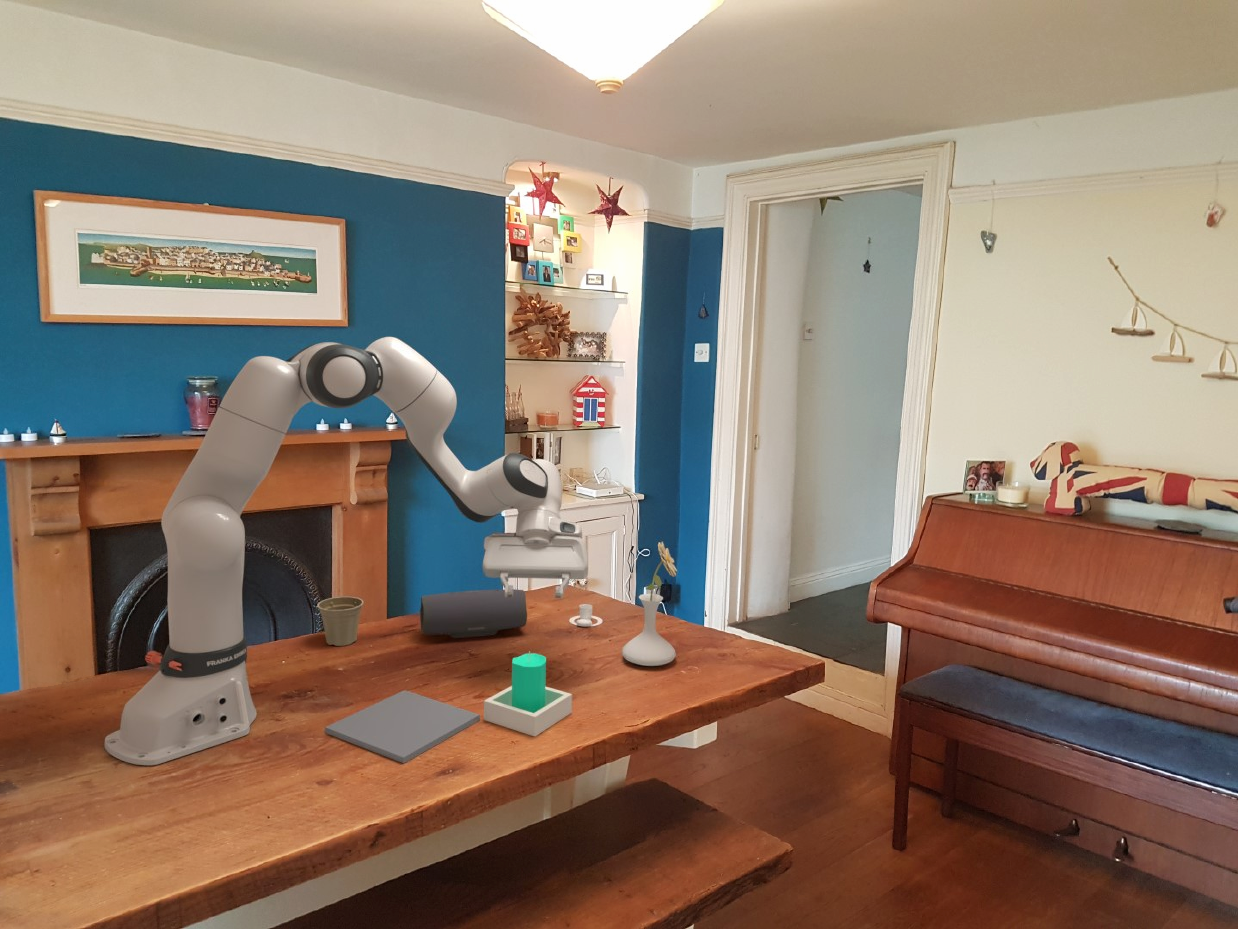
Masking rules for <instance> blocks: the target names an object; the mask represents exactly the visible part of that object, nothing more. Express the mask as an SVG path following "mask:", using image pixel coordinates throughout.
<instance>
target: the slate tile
mask: <svg viewBox="0 0 1238 929" xmlns="http://www.w3.org/2000/svg"><path fill="white" fill-rule="evenodd" d="M480 720H481V715H480V714H479V713H475V712H472V711H469V710H468V709H467V710H466V709H463V708H461V707H460V708H459V707H458V706H455V705H451V704H449V703H446V702H442V701H439V700H436V699H433V698H431V697H427V696H424V695H421V694H418V693H414V692H411V691H409V690H406V689H404V690H402V691H400V692H398V693H396V694H393V695H390V696H388V697H387V698H384V699H382V700H381V701H379V702H375V703H374V704H372V705H370V706H367V707H365V708H363V709H361V710H359V711H356V712H355V713H353V714H351V715H347V716H346V717H344V718H342V719H340V720H337V721H335V722H333V723H331V724H329V725H327V726H325V727H324V734H327V735H330V736H332V737H334V738H338V739H340V740H341V741H345V742H348V743H351V744H352V745H354V746H355V745H356V746H357V747H360V748H363V749H366V750H368V751H369V752H374V753H376V754H379V755H381V756H384V757H386V758H389V759H391V760H394V761H396V762H399V763H402V764H405V763H407V762H409V761H410V760H412V759H414V758H416V757H417V756H420V755H421V754H423V753H425V752H427V751H428V750H430V749H432V748H434V747H436V746H437V745H439V744H440V743H442V742H444V741H446V740H447V739H449V738H451V737H453V736H455V735H456V734H458V733H460V732H461V731H464V730H465V729H467V728H469V727H470V726H472V725H475V723H478V722H479V721H480Z"/></svg>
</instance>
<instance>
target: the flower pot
mask: <svg viewBox="0 0 1238 929" xmlns="http://www.w3.org/2000/svg"><path fill="white" fill-rule="evenodd" d="M363 605H364V600H363V599H362V598H359V597H355V596H334V597H328V598H326V599H323V600H321V601H320V602H318V603H317V608H318V609H319V614H320V615H321V620H322V624H323V630H324V636H325V640H326V644H328V645H329V646H332V645H334V646H335V647H343V646H349V645H352V644H353V643H355V642H356V641H357V639H358V638H357V637H358V630H359V622H360V614H361V611H362V606H363Z"/></svg>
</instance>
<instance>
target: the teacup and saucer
mask: <svg viewBox="0 0 1238 929" xmlns="http://www.w3.org/2000/svg"><path fill="white" fill-rule="evenodd" d="M576 619H577V620H576ZM592 619H595V620H597V622H596V623H594V624H593V622H592ZM575 620H576V622H575ZM568 621H569V623H570V624H571V625H574V626H577V627H584V628H585V627H587V628H588V627H589V628H591V627H596V626H600V625H601V624H603V619H602V618H600V617H599V616H596V615H593V605H592V604H589V603H587V604H586V603H583V604H579V615H575V616H572V617H570V618H569V620H568Z"/></svg>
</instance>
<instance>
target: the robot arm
mask: <svg viewBox="0 0 1238 929" xmlns="http://www.w3.org/2000/svg"><path fill="white" fill-rule="evenodd" d="M372 396H374V397H375V398H378V399H379V400H381V401H382V402H383V403H384V404H385V405H386V406H387V407H388V408H389V409H390V410H391V411H392V412H393V413H394V414H395V415H396V416H397V417H398V418H399V420H400V421H401V422H402V423H403V425H404V427H405V433H404V434H405V438H406V440H407V442H408V446H410V448H411V449H412V451H413V452H414V453H415V454H416V456H417V457H418V458H419V459H420V461H421V462H422V463H423V465H424V466H425V467H426V468H427V469H428V471H429V472H430V473H431V474H432V476H433V477H434V478H435V479H436V480H437V481H438V482H439V483H440V485H441V486H442V488H444V490H445V491H446V493H447V494H448V495H449V496H450V497H451V499H452V502H453V503H454V505H455V507H456V508H457V510H458V511H459V512H460V513H461V515H463V516H464V517H465V518H467V519H469V520H470V521H473V522H475V523H478V524H479V523H481V524H482V523H485V522H488V521H490V520H492V519H493V518H495V517H496V516H498V515H499V514H500V513H502V512H504V511H506V510H508V509H510V508H514V509H515V510H517V515H516V523H515V524H516V526H515V532H492V534H489V535H487V536H486V537H485V538H484V541H483V549H484V551H485V552H484V555H483V561H482V572H483V574H484V575H485V576H486V577H487V578H496V579H497V578H498V579H500V583H501V585H502V586H503V588H504V590H505V597H513V591H514V585H513V584H509V583H508V582H509V579H510V578H511V579H550V580H552V579H554V580H556V579H558V580H561V581H562V582H561V584H559V586H558V585H556V586H555V588H554V589H555V591H554V592H555V594H554V595H555V596H554V597H555V598H554V599H563V598H564V591H566V588H567V587H568V586H569V584H570V580H584V579H585V578H586V577H587V576H588V575H589V560H588V559H589V558H588V552H587V544H586V542H585V541H584V540H583V530H582V526H581V525H579V524H576V523H572V522H569V521H567V520H563V519H561V515H560V511H561V507H562V504H563V502H562V501H563V499H562V498H563V488H562V487H563V486H562V478H561V474H560V472H559V469H558V468H557V466H556V465H555V464H554V463H552V462H551V461H549V460H547V459H542V458H535V459H531V458H529V457H528V456H526V455H524V454H521V453H518V452H510V453H507V454H506V455H503V456H501V457H499V458H497V459H495V460H494V461H492V462H491V463H490V464H487V465H486V466H483V467H481V468H480V469H477V470H470V469H469V470H468V469H467V468H465V466H464V465H463V464H462V463H461V461H460V460H459V459H458V457H457V456H456V455H455V454H454V452H452V450H451V449H450V448H449V446H448V445H447V444H446V442H445V440H444V433H445V432H446V431H447V429H448V427H449V426H450V424H451V423H452V420H453V418H454V416H455V414H456V410H457V394H456V391H455V389H454V387H453V386H452V384H451V382H450V381H449V380H448V379H447V377H445V376H444V375H443V373H441V372H440V371H439V370H438V369H437V368H436V367H435V366H434V365H433V364H432V363H431V362H429V360H427V359H426V358H425V357H424V356H423V355H421V354H420V353H419V352H418V351H416V350H415V349H413V347H411V346H410V345H408V344H407V343H406V342H404V341H402V340H401V339H399V338H397V337H393V336H385V337H381V338H379V339H376V340H374V341H373V342H371V344H369V345H368V346H367V347H366V348H365V349H362V348H358V347H355V346H351V345H348V344H342V343H339V342H333V341H332V342H331V341H329V342H328V341H327V342H320V343H315V344H310V345H309V346H306V347H304V348H303V349H300V350H299V351H298V352H297V353H295V354H294V355H292V356H291V357H289V358H288V359H286V360H282V359H280V358H278V357H275V356H269V355H260V356H255V357H252V358H251V359H249V360H248V361H247V362H246V363H245V365H244V366H243V367H242V369H241V370H240V371H239V372H238V374H237V375H236V377H235V378H234V380H233V381H232V382H231V384H230V386H229V387H228V389H227V390H226V392H225V394H224V396H223V398H222V400H221V402H220V405H219V407H218V408H217V410H216V413H215V414H214V416H213V419H212V420H211V423H210V425H209V427H208V429H207V431H206V433H205V436H204V438H203V440H202V442H201V444H200V447H199V448H198V450H197V452H196V454H195V456H193V459H192V461H191V462H190V464H189V465H188V467H187V468H186V470H185V471H184V474H183V475H182V476H181V479H180V480H179V482H178V484H177V486H176V488H175V489H174V490H173V493H172V494H171V497H170V499H169V500H168V502H167V504H166V506H165V507H164V510H163V513H162V515H161V521H160V522H161V529H162V532H163V534H164V538H165V543H166V548H167V550H166V551H167V598H166V599H167V617H168V636H169V644H167V647H166V649H165V652H164V654H162V653H161V652H158V651H156V650H150V651H148V652H147V653H146V655H145V658H144V659H145V662H147V663H148V664H151V665H153V666H158V665H160V666H159V670H158V672H156V673H155V675H154V676H152V678H150V680H148V681H147V682H146V684H145V685H144V686H142V688H140V690H138V691H137V693H135V695H132V697H131V698H130V699H129V700H128V701H127V702H126V703H125V705H124V706H123V710H122V714H121V718H120V728H119V729H118V730H116V731H114V732H111V733H109V734H108V735H107V736H105V738H104V746H103V747H104V749H105V751H106V752H107V753H108V754H110V755H111V756H113V757H115V758H116V759H117V760H118V759H119V760H120V761H123V762H126V763H128V764H133V765H138V766H140V765H141V766H156V765H160V764H162V763H163V764H164V763H166V762H169V761H172V760H174V759H175V760H176V759H178V758H182V757H184V756H187V755H190V754H193V753H196V752H199V751H202V750H205V749H208V748H211V747H214V746H218V745H221V744H223V743H227V742H229V741H232V740H236V739H239V738H241V737H244V736H247V735H248V734H249V733H250V732H251V727H250V726H251V725H252V723H253V722H254V721H255V719H256V717H257V714H258V712H257V709H256V707H255V705H254V701H253V700H252V699H253V698H252V695H251V692H250V687H249V682H248V674H247V670H246V669H247V668H246V663H247V659H248V649H247V647H248V646H247V637H246V635H245V634H244V618H243V617H244V616H243V614H244V613H243V582H244V570H245V551H246V550H245V547H246V546H245V545H246V544H245V543H246V538H245V537H246V533H245V532H246V530H245V525H244V523H243V520H242V519H241V515H242V513H243V510H244V509H245V507H246V506H247V504H248V502H249V501H250V499H251V498H252V496H253V495H254V493H255V491H256V490H257V488H258V487H259V486H260V485H261V483H262V482H263V481H264V480H265V478H266V477H267V476H268V473H269V472H270V469H271V467H272V465H273V463H274V462H275V461H274V460H275V458H276V456H277V454H278V452H279V450H280V448H281V446H282V444H283V441H284V439H285V437H286V434H287V432H288V431H289V428H290V425H291V424H292V420H293V418H294V417H295V415H296V414H297V413H298V412H299V410H300V409H301V408H303V407H304V406H305V405H306V404H308V403H311V402H312V403H315V404H317V405H319V406H322V407H326V408H333V409H347V408H350V407H353V406H356V405H358V404H359V403H361V402H363V401H364V400H366V399H368V398H370V397H372Z"/></svg>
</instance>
